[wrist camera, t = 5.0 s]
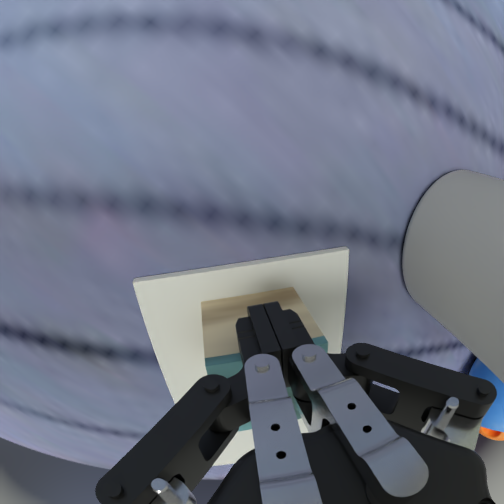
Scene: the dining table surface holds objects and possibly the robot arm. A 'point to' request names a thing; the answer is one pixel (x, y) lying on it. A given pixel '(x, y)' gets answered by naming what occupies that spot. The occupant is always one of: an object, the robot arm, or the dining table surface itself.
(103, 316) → the dining table surface
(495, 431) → the treat dispenser ball
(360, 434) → the robot arm
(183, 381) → the cream mat
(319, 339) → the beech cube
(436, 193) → the cylinder vase
